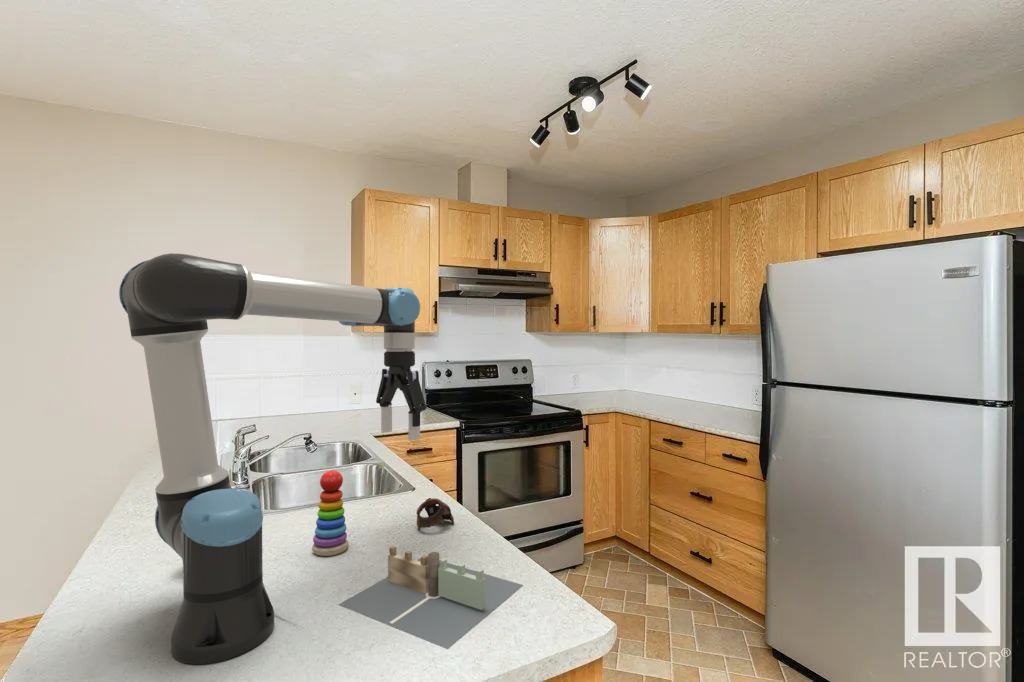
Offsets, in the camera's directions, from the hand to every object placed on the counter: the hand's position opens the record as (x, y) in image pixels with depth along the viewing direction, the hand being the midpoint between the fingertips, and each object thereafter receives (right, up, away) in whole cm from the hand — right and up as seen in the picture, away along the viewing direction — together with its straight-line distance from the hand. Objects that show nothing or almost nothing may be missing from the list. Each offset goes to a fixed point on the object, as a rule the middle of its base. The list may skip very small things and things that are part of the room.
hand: (399, 435), depth 127 cm
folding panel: (+19, -25, -32) cm, 44 cm away
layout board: (+13, -26, -29) cm, 40 cm away
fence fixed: (+8, -25, -26) cm, 37 cm away
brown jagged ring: (+7, -26, +9) cm, 28 cm away
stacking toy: (-15, -26, -7) cm, 31 cm away
